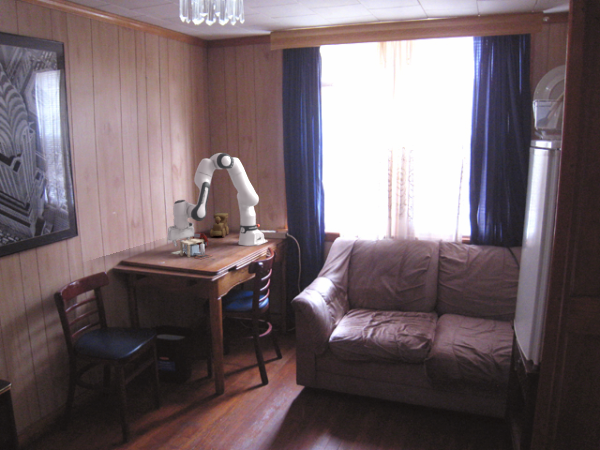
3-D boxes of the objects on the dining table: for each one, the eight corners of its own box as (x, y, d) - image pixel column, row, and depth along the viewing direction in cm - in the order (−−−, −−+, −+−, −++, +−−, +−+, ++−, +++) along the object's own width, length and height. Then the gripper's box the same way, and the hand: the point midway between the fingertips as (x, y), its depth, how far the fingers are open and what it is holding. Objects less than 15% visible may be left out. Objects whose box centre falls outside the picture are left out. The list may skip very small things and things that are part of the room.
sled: (184, 250, 338) (183, 239, 336) (207, 255, 324) (207, 243, 323) (177, 252, 333) (176, 240, 331) (200, 257, 320) (200, 245, 318)
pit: (205, 255, 328) (205, 254, 328) (212, 256, 325) (212, 255, 325) (194, 258, 320) (194, 257, 320) (200, 259, 317) (200, 258, 317)
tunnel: (195, 252, 336) (195, 238, 334) (203, 253, 332) (203, 239, 330) (180, 255, 326) (179, 241, 324) (188, 257, 321) (188, 243, 320)
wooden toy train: (216, 233, 402) (215, 212, 399) (230, 233, 400) (229, 213, 397) (209, 238, 382) (208, 216, 379) (223, 238, 381) (223, 217, 378)
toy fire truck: (205, 249, 346) (204, 234, 344) (190, 247, 350) (189, 233, 349) (210, 247, 352) (210, 232, 350) (195, 245, 357) (195, 231, 355)
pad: (182, 250, 342) (182, 250, 342) (188, 251, 338) (188, 251, 338) (170, 253, 334) (170, 252, 334) (176, 254, 330) (176, 254, 330)
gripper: (171, 227, 321) (172, 248, 323) (195, 223, 337) (196, 243, 340) (164, 226, 325) (165, 247, 327) (189, 222, 341) (189, 241, 343)
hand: (181, 245), depth 334 cm, fingers open, 8 cm apart
